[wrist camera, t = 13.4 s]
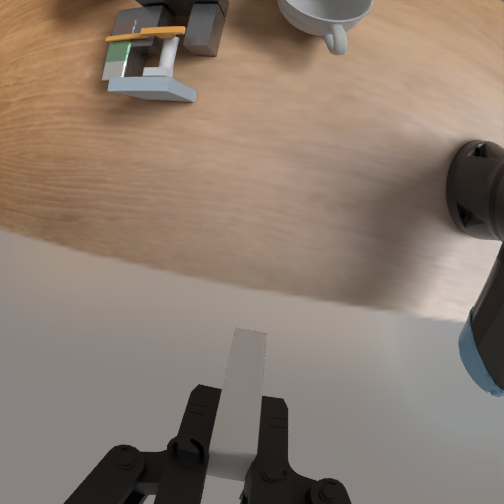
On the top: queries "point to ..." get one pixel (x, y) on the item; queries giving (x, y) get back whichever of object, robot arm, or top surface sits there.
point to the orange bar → (151, 33)
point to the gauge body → (158, 15)
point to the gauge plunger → (156, 80)
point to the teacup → (326, 18)
